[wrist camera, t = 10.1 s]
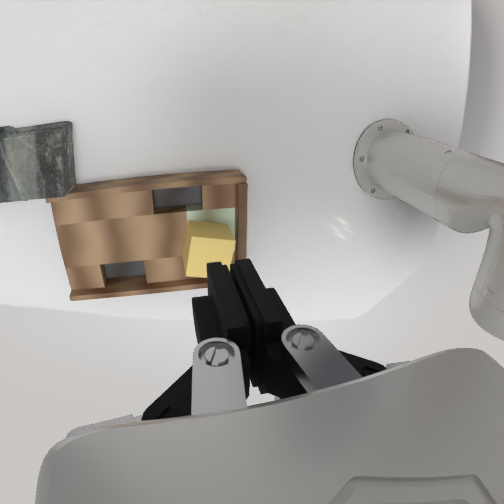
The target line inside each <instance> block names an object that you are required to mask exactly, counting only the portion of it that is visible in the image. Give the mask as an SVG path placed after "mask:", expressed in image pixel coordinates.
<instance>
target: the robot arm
mask: <svg viewBox="0 0 504 504" xmlns="http://www.w3.org/2000/svg"><path fill="white" fill-rule="evenodd" d="M354 170H355V175H356V178H357V180H358V182H359V184H360V186H361V187H362V188H363V189H364V191H365V192H367V193H368V194H370V195H371V196H373V197H375V198H378V199H392V198H395V197H396V198H398V199H400V200H402V201H404V202H406V203H407V204H409V205H411V206H413V207H415V208H416V209H418V210H420V211H422V212H423V213H425V214H427V215H429V216H430V217H432V218H434V219H435V220H437V221H439V222H441V223H442V224H444V225H446V226H448V227H449V228H451V229H453V230H455V231H457V232H461V233H474V232H478V231H482V230H484V229H487V228H489V229H490V231H489V237H488V240H487V245H486V249H485V252H484V255H483V259H482V262H481V264H480V267H479V270H478V273H477V276H476V279H475V282H474V285H473V288H472V291H471V294H470V300H469V308H470V312H471V315H472V317H473V319H474V320H475V321H476V323H477V324H478V325H479V326H480V327H481V328H482V329H484V330H485V331H486V332H488V333H489V334H491V335H493V336H495V337H497V338H499V339H501V340H503V341H504V163H500V162H497V161H494V160H491V159H488V158H485V157H482V156H479V155H476V154H473V153H471V152H467V151H464V150H461V149H458V148H455V147H452V146H449V145H446V144H442V143H439V142H436V141H432V140H429V139H425V138H422V137H418V136H415V135H414V134H413V132H412V131H411V129H410V128H409V127H407V126H406V125H405V124H403V123H402V122H399V121H396V120H390V119H387V120H381V121H378V122H375V123H374V124H372V125H371V126H370V127H368V128H367V129H366V130H365V132H364V133H363V134H362V136H361V137H360V139H359V141H358V143H357V147H356V150H355V155H354ZM207 284H208V296H202V297H193V298H192V307H193V317H194V324H195V331H196V336H197V342H198V345H197V346H196V348H195V349H194V352H193V365H192V366H191V367H190V368H189V369H188V370H187V371H186V372H185V373H184V374H183V375H182V376H181V377H180V378H179V379H178V380H177V381H176V382H175V383H173V384H172V385H171V386H170V387H169V388H168V389H167V390H166V391H165V392H164V393H163V394H162V395H161V396H160V397H159V398H157V400H155V401H154V402H153V403H152V404H151V405H150V406H149V407H148V408H147V409H146V410H145V412H144V413H143V415H140V416H137V417H133V415H132V414H131V415H128V416H124V417H120V418H116V419H112V420H108V421H104V422H99V423H95V424H90V425H86V426H82V427H78V428H75V429H73V430H72V431H70V432H69V433H68V435H67V437H66V438H65V439H63V440H61V441H60V442H58V443H56V444H55V445H54V446H53V447H52V448H51V449H50V450H49V451H48V453H47V455H46V456H45V458H44V460H43V463H42V465H41V469H40V473H39V477H38V483H37V490H36V499H35V504H504V368H503V367H502V366H501V365H500V364H499V363H498V362H497V361H496V360H494V359H493V358H492V357H491V356H489V355H488V354H486V353H485V352H484V351H481V350H478V349H473V348H456V349H449V350H445V351H441V352H437V353H433V354H431V355H428V356H425V357H422V358H418V359H416V360H413V361H406V362H398V363H391V364H387V365H386V367H384V366H383V365H381V364H379V363H377V362H373V361H370V360H367V359H364V358H361V357H358V356H355V355H351V354H348V353H345V352H342V351H339V350H337V349H336V348H335V347H334V345H333V344H332V343H331V342H330V341H329V340H328V339H327V338H326V337H325V335H323V333H322V332H320V331H319V330H318V329H317V328H314V327H312V326H308V325H296V324H295V323H294V321H293V319H292V318H291V316H290V314H289V312H288V311H287V309H286V307H285V305H284V304H283V302H282V300H281V299H280V297H279V295H278V293H277V292H276V290H275V289H274V288H265V286H264V284H263V283H262V281H261V279H260V277H259V275H258V273H257V271H256V270H255V268H254V266H253V264H252V262H251V260H250V259H239V260H235V264H230V272H229V269H228V267H227V265H222V263H221V261H220V262H210V263H207ZM250 380H251V383H252V385H253V387H257V386H258V388H259V391H260V393H261V394H265V393H270V394H272V395H274V396H275V401H271V402H266V403H262V404H256V405H251V406H247V404H246V399H247V398H248V396H249V387H250Z"/></svg>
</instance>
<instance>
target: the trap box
mask: <svg viewBox="0 0 504 504" xmlns="http://www.w3.org/2000/svg"><path fill="white" fill-rule="evenodd" d="M50 202H51V206H52V211H53V216H54V221H55V226H56V231H57V236H58V240H59V244H60V249H61V253H62V257H63V261H64V265H65V268H66V272H67V276H68V279H69V283H70V286H71V290H72V291H71V294H70V296H69V297H70V300H71V301H75V300H87V299H99V298H110V297H121V296H131V295H142V294H152V293H162V292H171V291H181V290H190V289H199V288H208V284H207V278H203V277H190V276H186V275H185V268H184V262H183V251H184V244H185V237H186V231H187V224H188V220H193V221H202V222H212V223H220V224H228V226H229V228H230V230H231V232H232V234H233V236H234V238H235V240H236V243H235V247H234V252H233V256H232V261H231V264H235V260H239V259H246V234H247V183H246V176H245V175H244V174H243V173H242V172H240V171H239V170H227V171H209V172H193V173H180V174H167V175H156V176H146V177H136V178H127V179H118V180H109V181H101V182H94V183H86V184H79V185H75V187H74V188H73V189H72V190H71V191H70V192H69V193H68V194H67V195H66V196H65V197H58V198H46V203H50ZM229 272H230V270H229Z"/></svg>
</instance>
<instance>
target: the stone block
mask: <svg viewBox="0 0 504 504" xmlns="http://www.w3.org/2000/svg"><path fill="white" fill-rule="evenodd" d="M75 185H76V183H75V172H74V160H73V145H72V123H71V122H69V121H65V122H56V123H51V124H44V125H38V126H33V127H23V128H16V129H14V128H13V127H9V126H5V127H0V203H2V202H14V201H27V200H32V199H44V198H58V197H65V196H66V195H67V194H68V193H69V192H70V191H71V190H72V189H73V188H74V187H75Z"/></svg>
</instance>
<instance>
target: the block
mask: <svg viewBox="0 0 504 504" xmlns="http://www.w3.org/2000/svg"><path fill="white" fill-rule="evenodd" d="M235 243H236V240H235V238H234V236H233V234H232V232H231V230H230V228H229V226H228V224H220V223H212V222H202V221H193V220H188V224H187V231H186V237H185V244H184V251H183V262H184V268H185V275H186V276H190V277H203V278H207V263H210V262H220V261H221V263H222V265H227V267H228V269H229V270H230V264H231V261H232V256H233V252H234V247H235Z"/></svg>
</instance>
